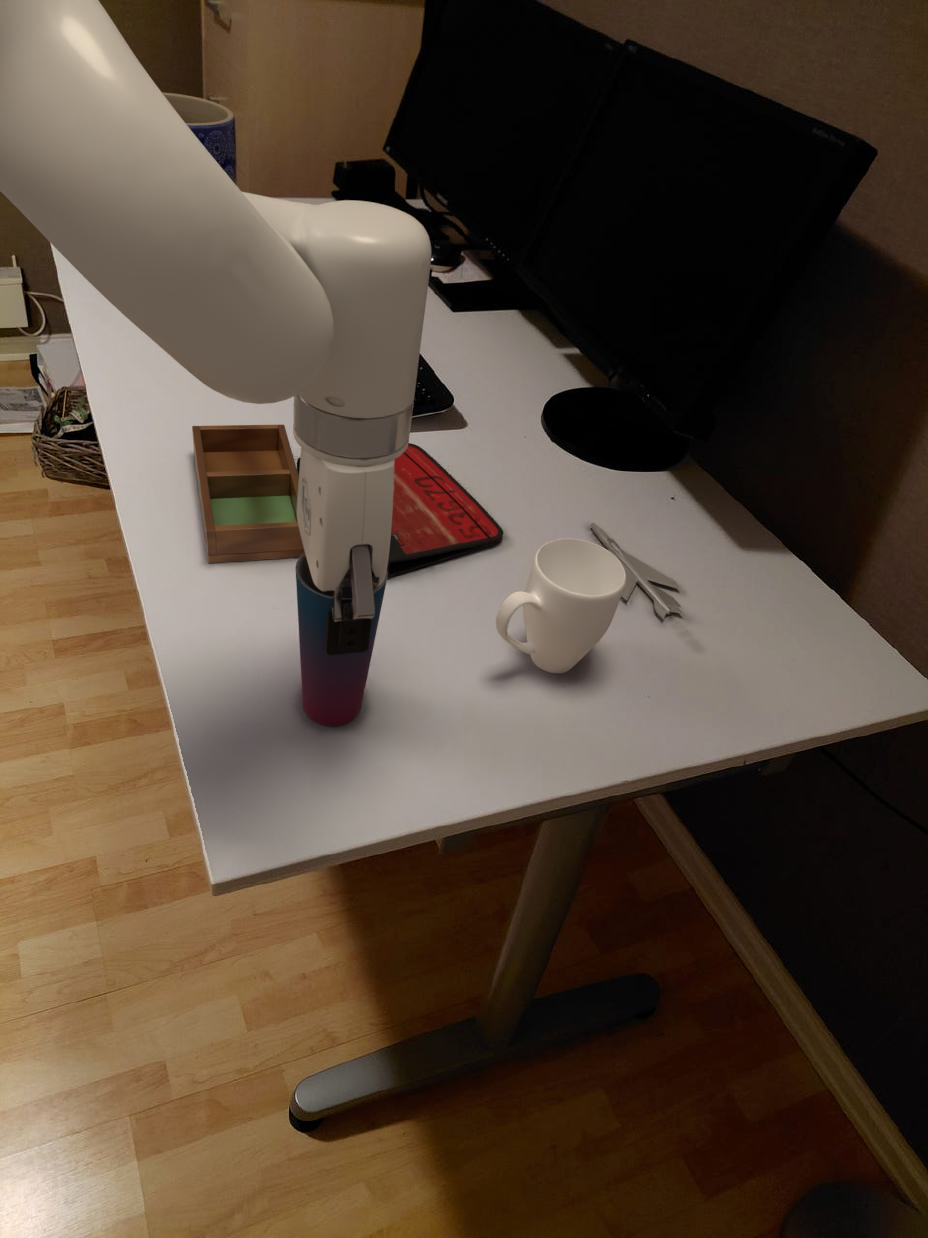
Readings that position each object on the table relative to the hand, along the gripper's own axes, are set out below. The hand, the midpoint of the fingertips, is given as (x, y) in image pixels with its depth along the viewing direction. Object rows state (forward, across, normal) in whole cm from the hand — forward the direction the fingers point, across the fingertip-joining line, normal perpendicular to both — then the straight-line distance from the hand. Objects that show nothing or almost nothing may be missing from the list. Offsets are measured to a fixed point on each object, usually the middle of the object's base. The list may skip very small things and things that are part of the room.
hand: (338, 618), depth 66 cm
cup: (+10, 0, 0) cm, 10 cm away
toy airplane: (+10, -12, +36) cm, 39 cm away
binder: (+10, -28, +13) cm, 33 cm away
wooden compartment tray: (+10, -30, -4) cm, 32 cm away
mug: (+10, -2, +20) cm, 23 cm away
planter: (+10, -105, -6) cm, 106 cm away
